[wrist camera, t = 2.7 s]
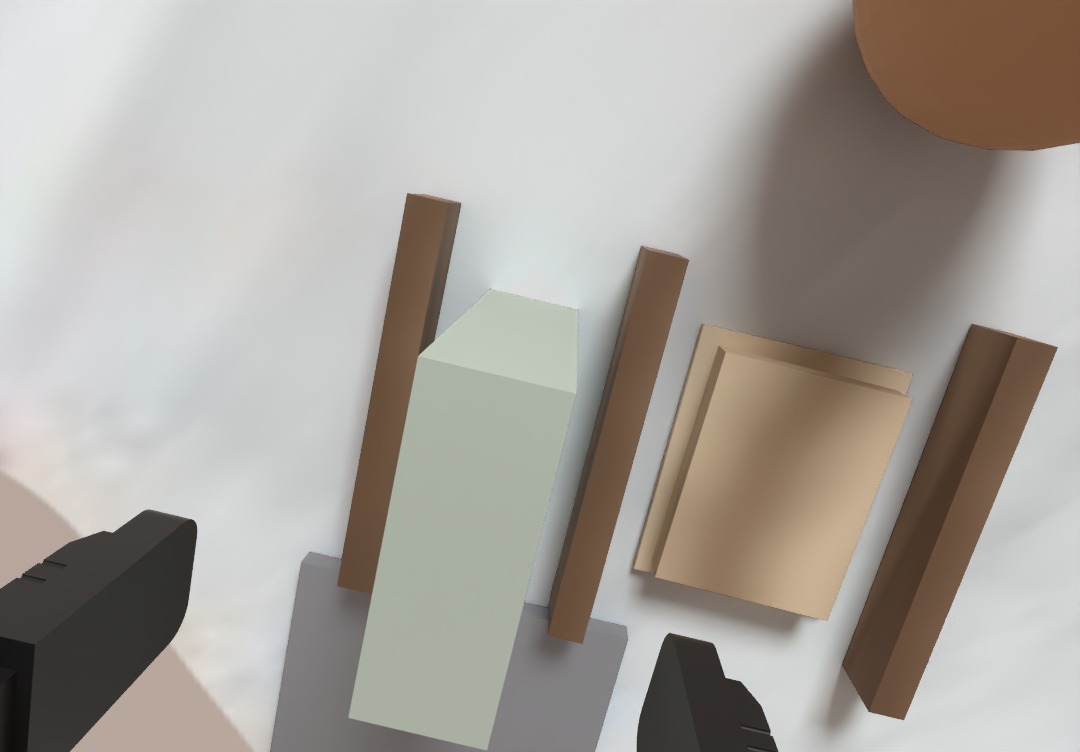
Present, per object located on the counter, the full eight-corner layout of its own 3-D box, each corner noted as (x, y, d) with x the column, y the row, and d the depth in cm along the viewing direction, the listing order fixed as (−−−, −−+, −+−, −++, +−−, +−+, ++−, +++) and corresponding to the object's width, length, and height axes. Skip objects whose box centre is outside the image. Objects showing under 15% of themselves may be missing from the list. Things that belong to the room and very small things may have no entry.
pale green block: (578, 309, 24) (576, 393, 13) (525, 525, 26) (486, 750, 15) (490, 288, 24) (418, 355, 13) (444, 505, 26) (348, 717, 15)
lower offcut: (897, 366, 25) (912, 374, 23) (815, 596, 27) (826, 614, 26) (697, 319, 25) (703, 325, 23) (631, 553, 27) (633, 568, 26)
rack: (1007, 332, 23) (1058, 347, 21) (873, 672, 26) (903, 720, 24) (425, 194, 23) (407, 193, 21) (359, 550, 26) (336, 586, 24)
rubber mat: (626, 626, 27) (628, 639, 26) (563, 841, 29) (563, 859, 28) (309, 551, 26) (301, 562, 26) (272, 773, 29) (264, 788, 28)
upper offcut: (896, 390, 24) (912, 399, 22) (816, 602, 25) (827, 620, 24) (718, 344, 24) (725, 352, 22) (651, 560, 25) (655, 577, 24)
